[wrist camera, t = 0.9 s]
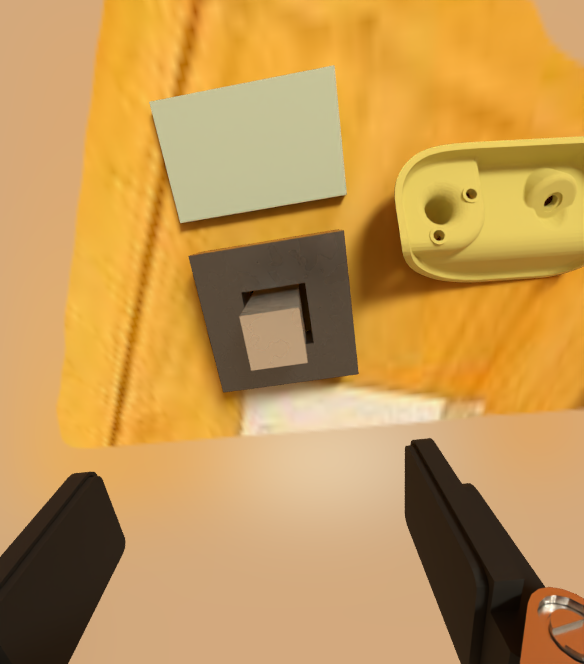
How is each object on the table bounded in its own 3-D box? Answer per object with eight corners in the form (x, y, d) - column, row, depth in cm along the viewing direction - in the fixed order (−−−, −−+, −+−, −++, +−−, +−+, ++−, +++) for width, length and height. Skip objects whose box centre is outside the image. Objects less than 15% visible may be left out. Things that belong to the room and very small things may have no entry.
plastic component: (621, 134, 27) (646, 248, 26) (548, 185, 34) (566, 275, 33) (388, 146, 26) (403, 264, 25) (365, 195, 34) (375, 289, 32)
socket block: (338, 229, 32) (343, 230, 28) (352, 358, 36) (358, 374, 33) (200, 251, 33) (188, 255, 29) (230, 375, 37) (223, 392, 33)
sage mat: (332, 70, 28) (334, 65, 27) (345, 195, 31) (346, 194, 30) (154, 105, 29) (149, 101, 28) (183, 222, 32) (180, 222, 31)
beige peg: (298, 283, 34) (299, 307, 24) (304, 324, 35) (307, 362, 26) (255, 290, 34) (239, 316, 25) (263, 330, 36) (251, 370, 26)
